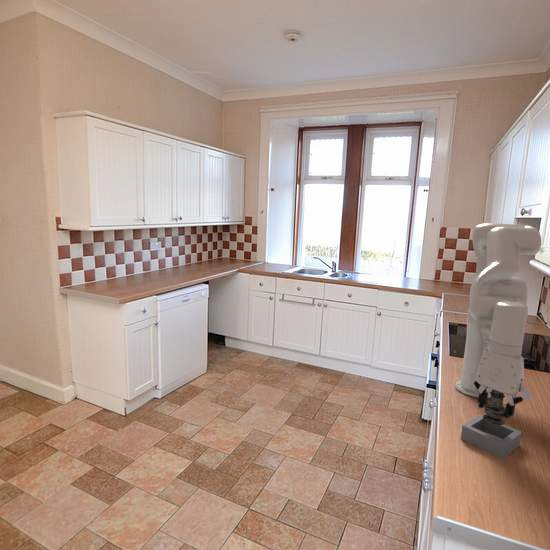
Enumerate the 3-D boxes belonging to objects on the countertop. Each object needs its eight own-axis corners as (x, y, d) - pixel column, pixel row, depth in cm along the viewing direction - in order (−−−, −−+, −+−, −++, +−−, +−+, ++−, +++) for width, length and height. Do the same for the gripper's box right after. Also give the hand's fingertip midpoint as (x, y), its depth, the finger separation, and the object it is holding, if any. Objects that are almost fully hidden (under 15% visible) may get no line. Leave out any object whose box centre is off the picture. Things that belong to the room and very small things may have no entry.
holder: (478, 426, 113) (480, 414, 112) (519, 445, 104) (522, 432, 104) (460, 438, 106) (462, 425, 106) (503, 459, 98) (505, 445, 97)
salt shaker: (497, 414, 107) (503, 374, 105) (510, 426, 101) (517, 383, 100) (477, 413, 107) (483, 373, 105) (489, 425, 101) (495, 382, 99)
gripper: (465, 341, 106) (456, 402, 108) (536, 361, 92) (525, 430, 95) (477, 337, 110) (469, 395, 113) (547, 356, 97) (535, 422, 99)
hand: (494, 411), depth 104 cm, fingers closed on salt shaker, 5 cm apart
